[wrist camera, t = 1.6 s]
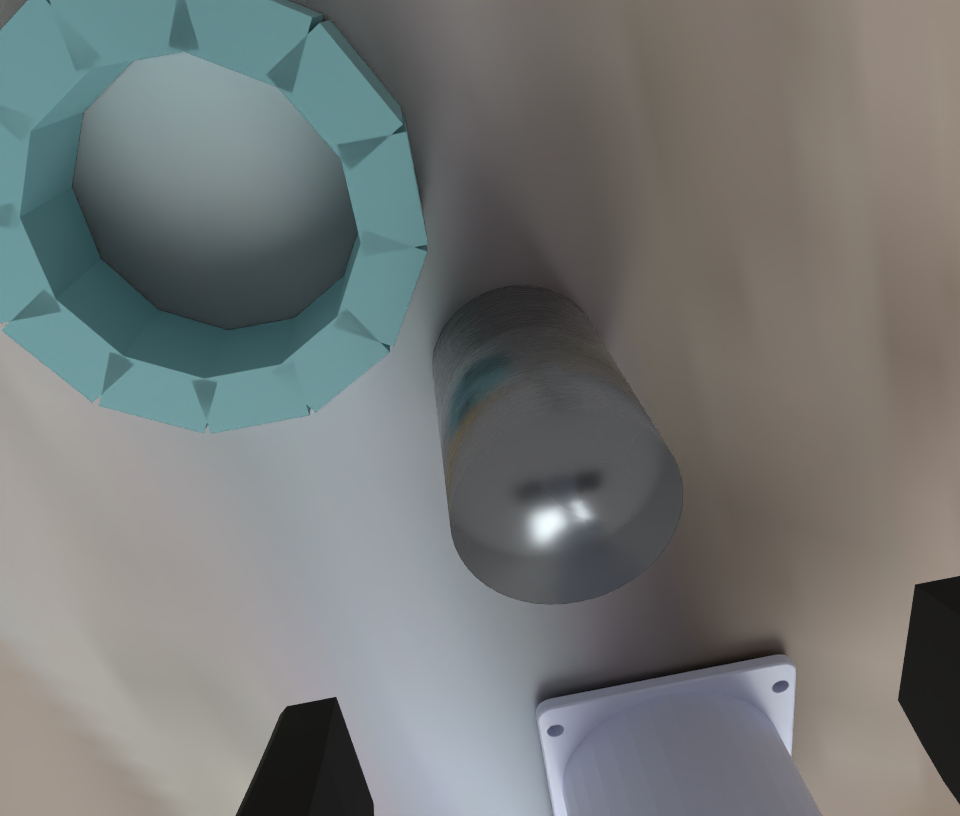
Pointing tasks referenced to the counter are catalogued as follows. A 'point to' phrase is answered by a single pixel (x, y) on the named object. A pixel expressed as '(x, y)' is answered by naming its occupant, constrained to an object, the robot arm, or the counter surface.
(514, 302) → the steel peg
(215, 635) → the counter surface
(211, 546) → the counter surface
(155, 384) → the teal bead ring
